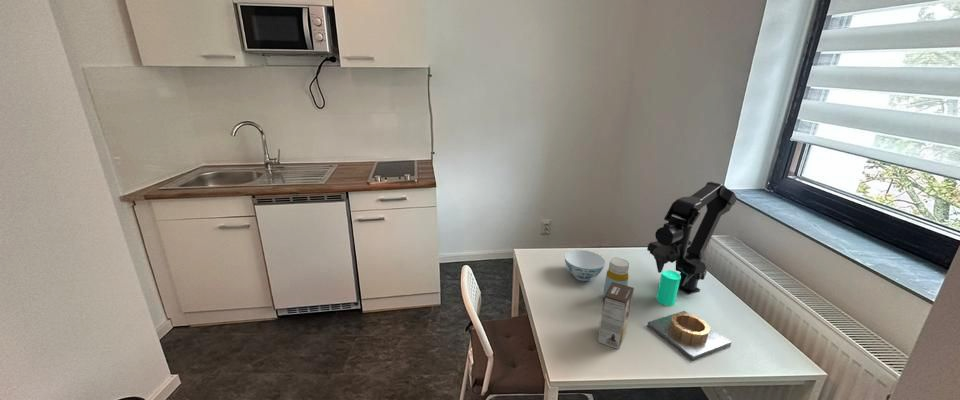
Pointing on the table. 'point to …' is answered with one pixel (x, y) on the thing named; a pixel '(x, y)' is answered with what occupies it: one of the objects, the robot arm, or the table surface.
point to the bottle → (616, 273)
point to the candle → (668, 287)
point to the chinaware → (584, 264)
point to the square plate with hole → (689, 335)
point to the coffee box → (615, 315)
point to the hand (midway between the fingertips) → (670, 278)
